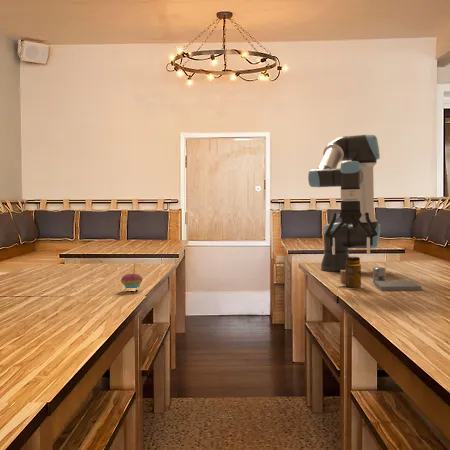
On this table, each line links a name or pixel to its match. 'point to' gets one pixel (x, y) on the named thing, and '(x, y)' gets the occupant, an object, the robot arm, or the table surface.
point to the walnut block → (342, 276)
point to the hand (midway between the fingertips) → (350, 254)
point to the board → (397, 285)
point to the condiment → (352, 273)
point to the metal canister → (378, 274)
